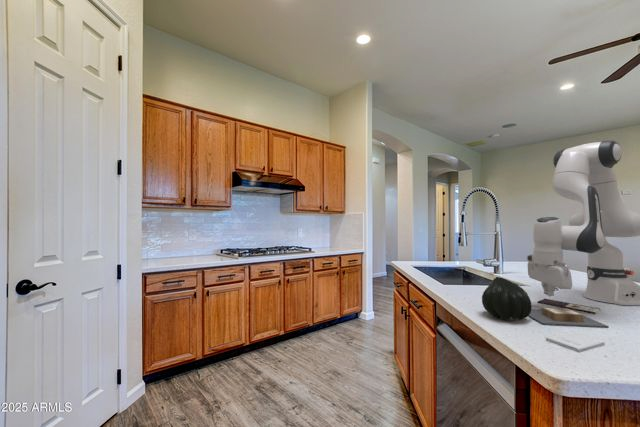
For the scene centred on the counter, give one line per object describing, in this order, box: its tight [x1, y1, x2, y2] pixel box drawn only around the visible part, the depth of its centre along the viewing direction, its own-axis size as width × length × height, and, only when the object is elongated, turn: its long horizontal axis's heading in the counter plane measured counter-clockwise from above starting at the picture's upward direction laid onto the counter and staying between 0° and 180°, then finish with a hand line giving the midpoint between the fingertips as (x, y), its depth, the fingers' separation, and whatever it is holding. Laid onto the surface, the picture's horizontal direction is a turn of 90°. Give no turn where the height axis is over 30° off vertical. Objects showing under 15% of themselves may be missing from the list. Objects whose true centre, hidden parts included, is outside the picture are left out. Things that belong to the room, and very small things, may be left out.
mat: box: [527, 308, 609, 329], centre depth 104 cm, size 20×16×1 cm
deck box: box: [541, 307, 585, 322], centre depth 102 cm, size 9×3×7 cm
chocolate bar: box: [537, 298, 601, 315], centre depth 118 cm, size 9×1×18 cm
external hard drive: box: [545, 331, 606, 353], centre depth 83 cm, size 2×8×12 cm
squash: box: [481, 276, 533, 321], centre depth 105 cm, size 14×15×15 cm
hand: (548, 295), depth 111 cm, fingers closed
